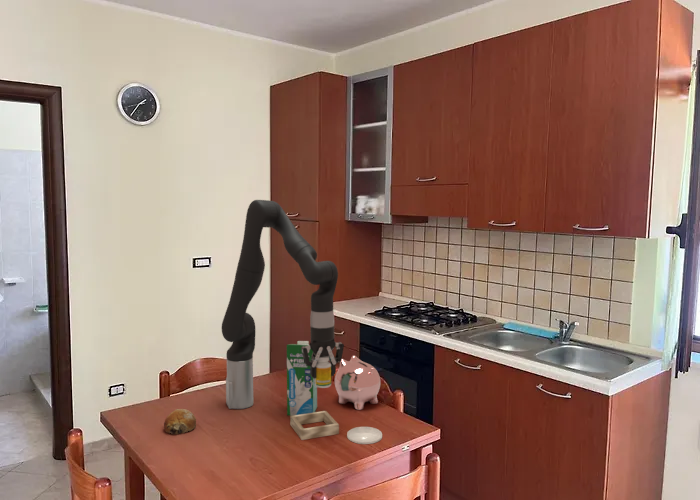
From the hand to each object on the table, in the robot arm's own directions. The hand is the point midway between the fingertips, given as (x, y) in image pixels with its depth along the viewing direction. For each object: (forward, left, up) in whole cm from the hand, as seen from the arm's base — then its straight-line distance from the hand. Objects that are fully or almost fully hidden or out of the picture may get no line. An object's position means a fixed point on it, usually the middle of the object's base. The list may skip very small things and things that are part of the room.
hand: (323, 376), depth 177 cm
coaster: (+11, -9, -18) cm, 23 cm away
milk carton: (-1, +18, -18) cm, 26 cm away
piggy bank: (+20, +19, -18) cm, 33 cm away
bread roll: (-43, +19, -18) cm, 50 cm away
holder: (-2, +2, -18) cm, 18 cm away
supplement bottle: (0, 0, -3) cm, 3 cm away
